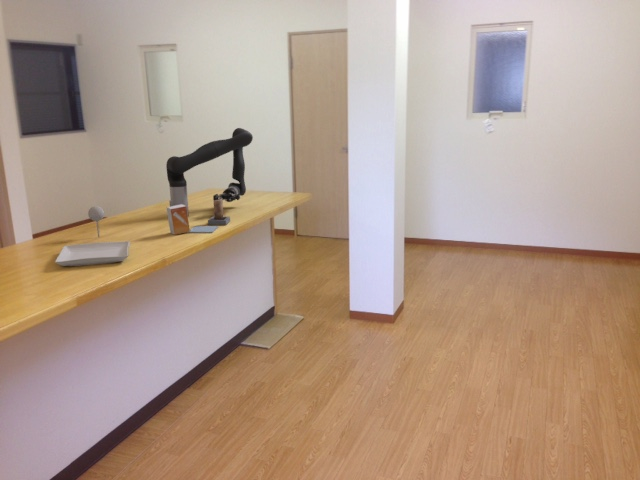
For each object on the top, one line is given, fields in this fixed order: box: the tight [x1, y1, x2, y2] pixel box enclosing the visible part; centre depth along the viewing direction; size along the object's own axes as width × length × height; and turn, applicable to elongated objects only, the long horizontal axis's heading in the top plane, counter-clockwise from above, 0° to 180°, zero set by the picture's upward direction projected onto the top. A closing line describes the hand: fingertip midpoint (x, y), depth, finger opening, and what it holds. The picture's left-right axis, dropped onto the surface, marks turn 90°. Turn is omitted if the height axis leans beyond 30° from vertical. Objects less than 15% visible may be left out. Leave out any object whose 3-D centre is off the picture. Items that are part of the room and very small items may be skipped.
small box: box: [166, 204, 191, 236], centre depth 273 cm, size 8×6×13 cm
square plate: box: [54, 240, 131, 267], centre depth 233 cm, size 27×27×4 cm
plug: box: [213, 200, 224, 220], centre depth 293 cm, size 5×5×12 cm
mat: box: [187, 225, 219, 234], centre depth 280 cm, size 12×12×1 cm
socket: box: [207, 216, 231, 226], centre depth 295 cm, size 9×9×2 cm
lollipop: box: [87, 205, 105, 238], centre depth 267 cm, size 7×7×15 cm
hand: (223, 199), depth 303 cm, fingers open, 8 cm apart
